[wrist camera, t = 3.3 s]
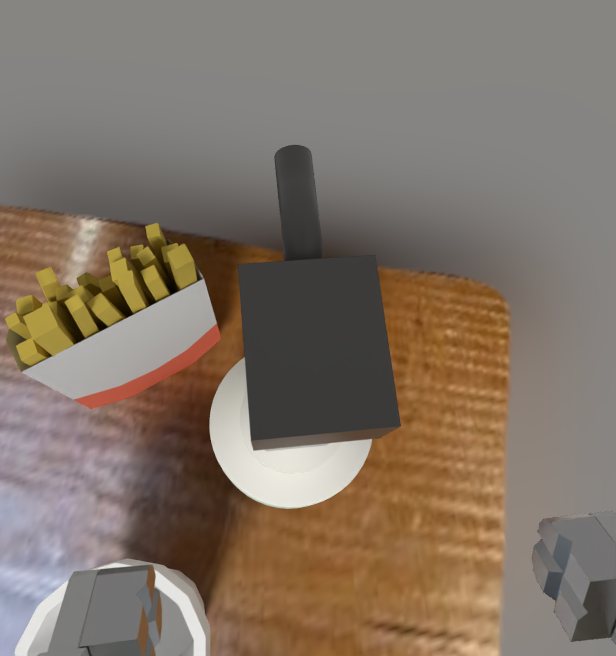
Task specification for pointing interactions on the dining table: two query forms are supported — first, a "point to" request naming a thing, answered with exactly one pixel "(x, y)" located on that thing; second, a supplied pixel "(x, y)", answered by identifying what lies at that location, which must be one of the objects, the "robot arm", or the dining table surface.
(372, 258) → the pump head
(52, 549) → the dining table surface
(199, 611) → the foam cup
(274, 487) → the syrup bottle
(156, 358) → the french fries container
